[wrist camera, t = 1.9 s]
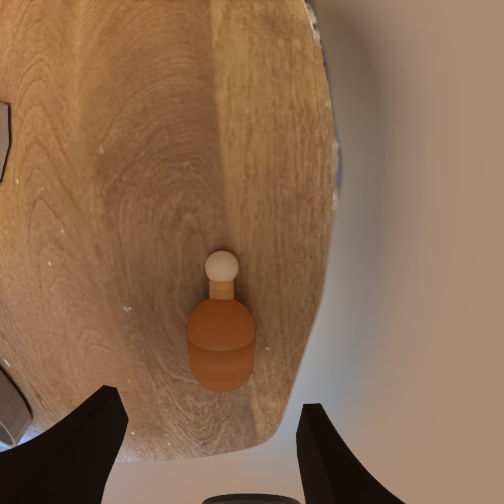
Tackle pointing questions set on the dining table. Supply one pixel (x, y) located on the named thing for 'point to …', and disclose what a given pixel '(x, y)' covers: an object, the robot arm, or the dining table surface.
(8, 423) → the bowl
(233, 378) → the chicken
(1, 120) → the flask
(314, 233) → the dining table surface
